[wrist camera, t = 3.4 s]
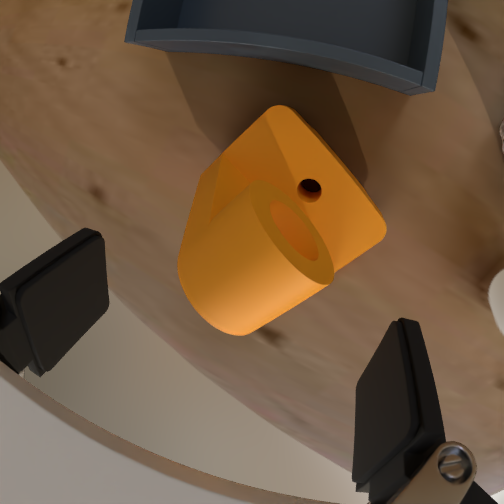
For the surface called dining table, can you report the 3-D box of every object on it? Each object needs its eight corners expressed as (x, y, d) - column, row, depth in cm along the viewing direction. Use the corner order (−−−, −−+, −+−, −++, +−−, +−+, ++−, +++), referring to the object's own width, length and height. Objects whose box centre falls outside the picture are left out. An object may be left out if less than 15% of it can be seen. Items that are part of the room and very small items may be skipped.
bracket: (386, 218, 21) (423, 321, 11) (310, 272, 24) (284, 391, 14) (286, 100, 19) (230, 87, 9) (215, 167, 23) (114, 224, 12)
